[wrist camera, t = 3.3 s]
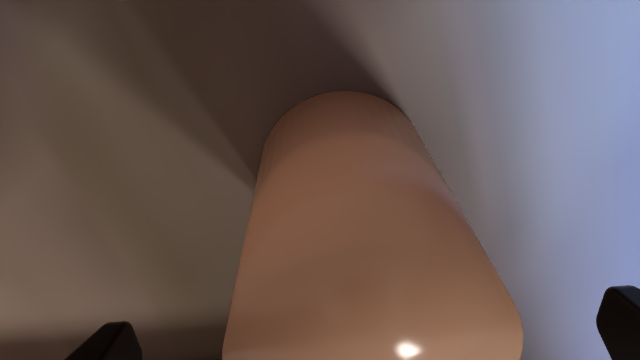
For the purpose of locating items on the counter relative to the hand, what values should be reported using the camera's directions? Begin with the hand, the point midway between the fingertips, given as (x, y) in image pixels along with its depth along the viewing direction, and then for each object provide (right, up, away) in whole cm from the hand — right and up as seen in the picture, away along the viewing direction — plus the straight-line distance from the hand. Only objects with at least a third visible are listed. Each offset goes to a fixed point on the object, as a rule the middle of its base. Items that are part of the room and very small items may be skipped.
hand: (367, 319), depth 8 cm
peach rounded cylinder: (0, +3, +5) cm, 6 cm away
